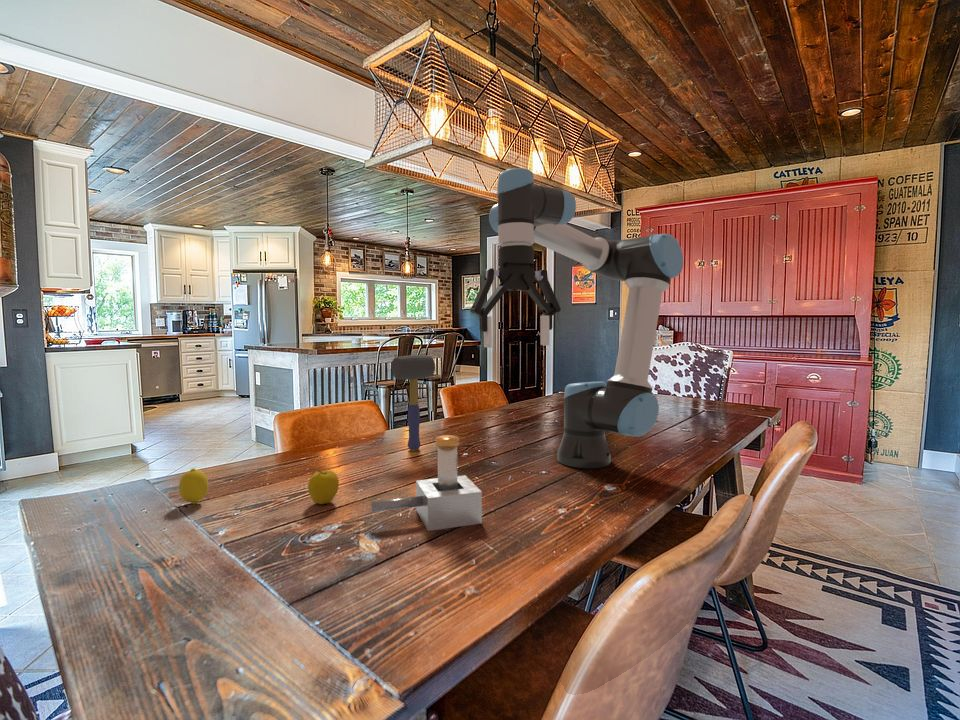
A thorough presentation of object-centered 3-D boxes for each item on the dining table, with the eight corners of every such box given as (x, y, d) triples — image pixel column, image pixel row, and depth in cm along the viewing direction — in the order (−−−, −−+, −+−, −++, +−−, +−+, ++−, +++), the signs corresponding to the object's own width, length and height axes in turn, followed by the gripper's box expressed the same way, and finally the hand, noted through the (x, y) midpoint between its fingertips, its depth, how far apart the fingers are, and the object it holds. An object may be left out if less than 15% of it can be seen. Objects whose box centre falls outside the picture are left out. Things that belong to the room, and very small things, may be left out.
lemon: (173, 506, 105) (172, 470, 105) (196, 498, 111) (195, 463, 110) (192, 510, 104) (191, 473, 103) (214, 501, 109) (213, 466, 108)
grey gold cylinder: (464, 504, 101) (463, 437, 99) (448, 511, 97) (447, 441, 96) (447, 498, 104) (447, 434, 103) (431, 505, 100) (430, 438, 99)
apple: (306, 509, 104) (305, 473, 103) (311, 499, 110) (310, 464, 110) (337, 508, 105) (336, 472, 104) (340, 497, 111) (340, 463, 111)
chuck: (465, 504, 107) (465, 475, 107) (481, 523, 97) (481, 491, 97) (368, 516, 100) (368, 485, 100) (375, 538, 90) (374, 504, 90)
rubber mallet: (401, 456, 146) (400, 356, 144) (390, 450, 152) (389, 355, 150) (437, 449, 153) (436, 354, 151) (425, 444, 159) (424, 353, 157)
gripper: (558, 250, 111) (558, 343, 113) (454, 246, 102) (456, 347, 104) (576, 246, 104) (576, 345, 106) (466, 241, 95) (468, 349, 97)
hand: (517, 346), depth 105 cm, fingers open, 13 cm apart
